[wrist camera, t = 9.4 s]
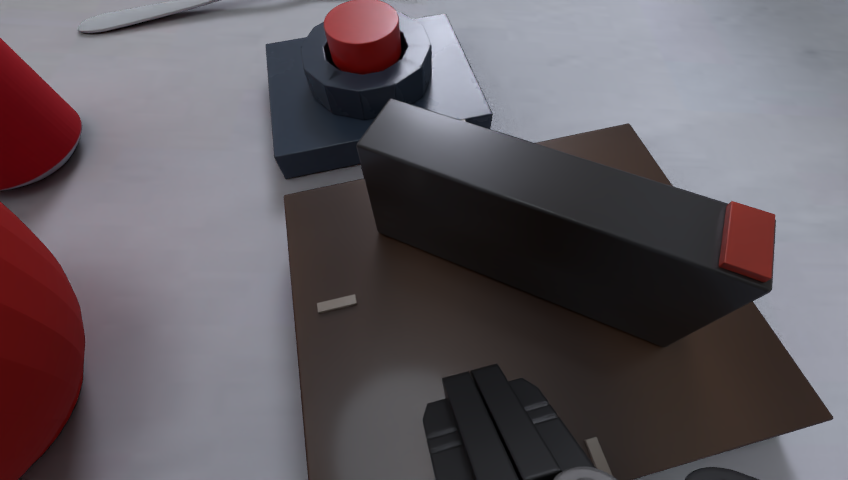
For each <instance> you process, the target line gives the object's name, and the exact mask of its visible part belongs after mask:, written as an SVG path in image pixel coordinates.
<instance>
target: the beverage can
mask: <svg viewBox="0 0 848 480" xmlns="http://www.w3.org/2000/svg"><path fill="white" fill-rule="evenodd" d="M81 130H82V124H81V120H80V117H79V115H78V114H77V112H76V111H75V110H74V109H73V108H72V107H71V106H70V105H69V104H68V103H67V102H65V101H64V100H63V99H62V98H61V97H60V96H59V95H58V94H57V93H56V92H55V91H54V90H53V89H52V88H51V87H50V86H49V85H48V84H47V83H46V82H45V81H44V80H43V79H42V78H41V77H40V76H39V75H38V74H37V73H36V72H35V71H34V70H33V69H32V68H31V67H30V66H29V65H28V64H27V63H26V62H25V61H24V60H23V59H21V58H20V57H19V56H18V55H17V54H16V53H15V52H14V51H13V50H12V49H11V48H10V47H9V46H8V45H7V44H6V43H5V42H4V41H3V40H2V39H1V38H0V190H8V189H13V188H17V187H21V186H25V185H28V184H31V183H34V182H37V181H39V180H41V179H43V178H45V177H47V176H49V175H51V174H52V173H53V172H55V171H56V170H58V169H59V168H60V167H61V166H62V165H64V163H65V162H66V161H67V160H68V159H69V158H70V156H71V155H72V154H73V152H74V150H75V148H76V146H77V144H78V142H79V139H80V136H81Z"/></svg>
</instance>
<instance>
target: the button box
mask: <svg viewBox="0 0 848 480" xmlns="http://www.w3.org/2000/svg"><path fill="white" fill-rule="evenodd" d="M397 14H398V17H399V27H400V39H401V56H400V58H399V60H398V61H397V62H396V63H395V64H393V65H392V66H390V67H388V68H387V69H385V70H384V71H379V72H374V73H368V74H363V75H362V74H357V73H351V72H345V71H341V70H340V69H339V68H337V67H336V65H335V64H334V63H333V61H332V57H331V53H330V50H329V46H328V42H327V38H326V34H325V30H324V22H323V23H321V24H319V25H317V26H315V27H314V28H313V29H312V31H311V32H310V34H309V35H308V36H307V37H305V38H299V39H294V40H288V41H282V42H276V43H270V44H266V57H267V70H268V83H269V96H270V109H271V122H272V135H273V148H274V158H275V160H276V162H277V164H278V166H279V167H280V169H281V171H282V173H283V175H284V177H285V178H286V179H288V178H293V177H298V176H303V175H307V174H312V173H317V172H322V171H327V170H332V169H337V168H342V167H347V166H351V165H356V164H361V163H360V159H359V155H358V151H357V147H356V146H357V143H358V141H359V140H360V139H361V137H362V136H363V135H364V133H365V132H366V130H367V129H368V128H369V126H370V125H371V124H372V122H373V121H374V119H375V118H376V117H377V115H378V114H379V113H380V111H381V110H382V108H383V107H384V106H385V104H386V103H387V102H388V100H389V99H395V100H398V101H401V102H405V103H408V104H411V105H414V106H417V107H421V108H424V109H427V110H430V111H433V112H437V113H440V114H443V115H446V116H449V117H453V118H456V119H459V120H462V119H465V120H466V122H469V123H472V124H475V125H478V126H481V127H485V128H488V129H490V127H491V121H492V112H491V109H490V107H489V105H488V103H487V101H486V99H485V96H484V94H483V92H482V90H481V88H480V86H479V84H478V81H477V79H476V77H475V75H474V73H473V71H472V69H471V66H470V64H469V62H468V60H467V58H466V56H465V54H464V51H463V49H462V47H461V45H460V43H459V41H458V39H457V36H456V34H455V32H454V30H453V28H452V26H451V24H450V21H449V19H448V17H447V15H446V14H439V15H433V16H427V17H421V18H416V19H412V18H410V17H408V16H407V15H405V14H403V13H400V12H397Z"/></svg>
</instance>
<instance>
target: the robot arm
mask: <svg viewBox="0 0 848 480" xmlns="http://www.w3.org/2000/svg"><path fill="white" fill-rule="evenodd" d="M442 384H443V388H444V393H445V398H446V399H442V400H439V401H435V402H431V403H428V404H427V406H426V409H425V413H424V416H423V419H422V421H423V425H424V430H425V434H426V439H427V444H428V448H429V453H430V457H431V462H432V466H433V471H434V476H435V480H617V479H616V478H615V477H613V476H612V475H610V474H608V473H607V472H604V471H602V470H600V469H597V468H596V467H595V466H594V465H593V464H592V462H591V461H590V459H589V458H588V456H587V455H586V454H585V452H584V451H583V449H582V448H581V447H580V445H579V444H578V442H577V441H576V440H575V438H574V437H573V435H572V434H571V433H570V431H569V430H568V428H567V427H566V426H565V424H564V423H563V421H562V420H561V419H560V417H558V415H557V413H556V411H555V410H554V409H553V407H552V406H551V405H549V402H548V400H547V399H546V397H545V396H544V395H543V393H542V392H541V390H540V389H539V388H538V387H537V386H535V385H534V384H532V383H530V382H529V381H527V380H525V379H524V378H519V379H515V380H511V381H508V380H507V378H506V377H505V375H504V373H503V372H502V370H501V369H500V367H499V365H498V364H493V365H489V366H485V367H481V368H478V369H474V370H470V373H469V371H467V372H463V373H459V374H456V375H452V376H448V377H444V378H442ZM685 480H759V479H756V478H753V477H751V476H748V475H745V474H742V473H739V472H736V471H733V470H730V469H725V468H717V467H706V468H701V469H698V470H695V471H693V472H691V473H690V474H689V475H688V476H687V477H686V478H685Z"/></svg>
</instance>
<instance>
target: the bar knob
mask: <svg viewBox="0 0 848 480" xmlns="http://www.w3.org/2000/svg"><path fill="white" fill-rule="evenodd" d="M356 147H357V151H358V155H359V159H360V163H361V167H362V171H363V175H364V179H365V183H366V187H367V191H368V195H369V199H370V203H371V207H372V211H373V215H374V219H375V223H376V227H377V231H378V232H379V233H382V234H384V235H386V236H389V237H391V238H394V239H396V240H399V241H401V242H404V243H406V244H409V245H411V246H414V247H416V248H419V249H421V250H424V251H426V252H429V253H431V254H434V255H436V256H439V257H441V258H443V259H446V260H448V261H451V262H453V263H456V264H458V265H461V266H463V267H466V268H468V269H471V270H473V271H476V272H478V273H481V274H483V275H486V276H488V277H491V278H493V279H495V280H498V281H500V282H503V283H505V284H508V285H510V286H513V287H515V288H518V289H520V290H523V291H525V292H528V293H530V294H533V295H535V296H538V297H540V298H543V299H545V300H547V301H550V302H552V303H555V304H557V305H560V306H562V307H565V308H567V309H570V310H572V311H575V312H577V313H580V314H582V315H585V316H587V317H590V318H592V319H595V320H597V321H600V322H602V323H604V324H607V325H609V326H612V327H614V328H617V329H619V330H622V331H624V332H627V333H629V334H632V335H634V336H637V337H639V338H642V339H644V340H647V341H649V342H652V343H654V344H656V345H659V346H661V347H667V346H669V345H671V344H673V343H674V342H676V341H678V340H680V339H682V338H684V337H686V336H688V335H690V334H692V333H693V332H695V331H697V330H699V329H701V328H703V327H705V326H707V325H709V324H710V323H712V322H714V321H716V320H718V319H720V318H722V317H724V316H726V315H728V314H729V313H731V312H733V311H735V310H737V309H739V308H741V307H743V306H745V305H747V304H748V303H750V302H752V301H754V300H756V299H758V298H760V297H762V296H764V295H766V294H767V293H769V292H770V291H771V290H772V280H773V262H774V244H775V226H776V220H775V214H772V213H769V212H765V211H762V210H759V209H756V208H753V207H749V206H746V205H743V204H740V203H737V202H733V201H731V202H730V203H729V204H727V203H724V202H721V201H718V200H715V199H711V198H708V197H705V196H702V195H699V194H695V193H692V192H689V191H686V190H683V189H679V188H676V187H673V186H670V185H667V184H663V183H660V182H657V181H654V180H651V179H647V178H644V177H641V176H638V175H635V174H631V173H628V172H625V171H622V170H619V169H616V168H612V167H609V166H606V165H603V164H600V163H596V162H593V161H590V160H587V159H584V158H580V157H577V156H574V155H571V154H568V153H564V152H561V151H558V150H555V149H552V148H548V147H545V146H542V145H539V144H536V143H532V142H529V141H526V140H523V139H520V138H516V137H513V136H510V135H507V134H504V133H501V132H497V131H494V130H491V129H488V128H485V127H481V126H478V125H475V124H472V123H469V122H465V121H462V120H459V119H456V118H453V117H449V116H446V115H443V114H440V113H437V112H433V111H430V110H427V109H424V108H421V107H417V106H414V105H411V104H408V103H405V102H401V101H398V100H395V99H389V100H388V102H387V103H386V104H385V106H384V107H383V108H382V110H381V111H380V113H379V114H378V115H377V117H376V118H375V119H374V121H373V122H372V124H371V125H370V126H369V128H368V129H367V130H366V132H365V133H364V135H363V136H362V137H361V139H360V140H359V141H358V143H357V146H356Z"/></svg>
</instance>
